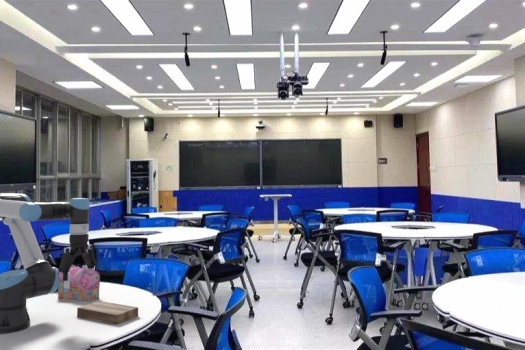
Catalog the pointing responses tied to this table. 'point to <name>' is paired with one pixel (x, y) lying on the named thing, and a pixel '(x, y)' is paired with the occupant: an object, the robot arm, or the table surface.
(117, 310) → the walnut riser
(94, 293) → the stack of blocks
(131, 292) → the table surface
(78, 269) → the pencil case
